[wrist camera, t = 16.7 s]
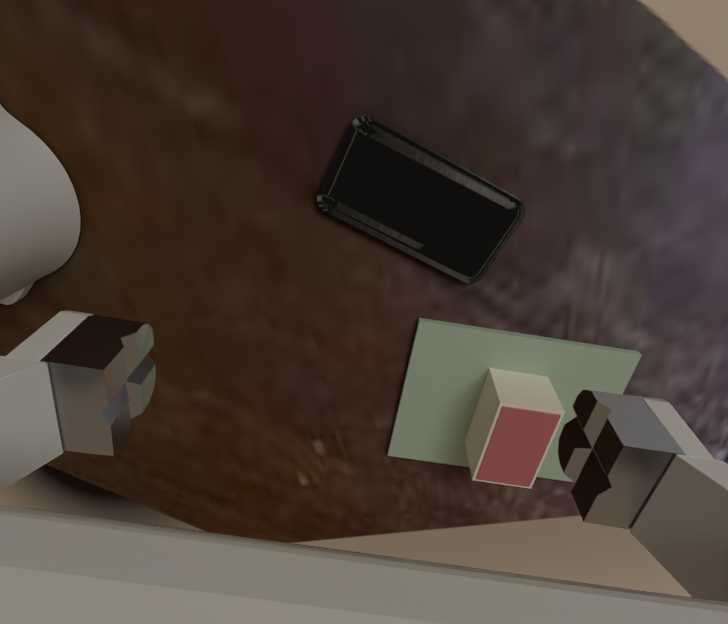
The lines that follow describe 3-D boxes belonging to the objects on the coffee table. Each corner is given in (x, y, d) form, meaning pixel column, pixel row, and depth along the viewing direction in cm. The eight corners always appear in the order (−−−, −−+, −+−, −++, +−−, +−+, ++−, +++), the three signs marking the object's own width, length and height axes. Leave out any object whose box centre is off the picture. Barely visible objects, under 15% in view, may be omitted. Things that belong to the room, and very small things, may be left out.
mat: (387, 451, 52) (387, 455, 51) (419, 317, 44) (419, 321, 44) (576, 478, 53) (577, 482, 52) (638, 351, 45) (641, 355, 45)
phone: (356, 110, 36) (531, 207, 39) (357, 108, 37) (527, 203, 40) (311, 206, 39) (474, 289, 42) (313, 202, 40) (472, 283, 43)
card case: (489, 367, 46) (500, 403, 41) (548, 376, 46) (565, 413, 42) (464, 441, 50) (472, 481, 46) (518, 449, 50) (531, 489, 46)
